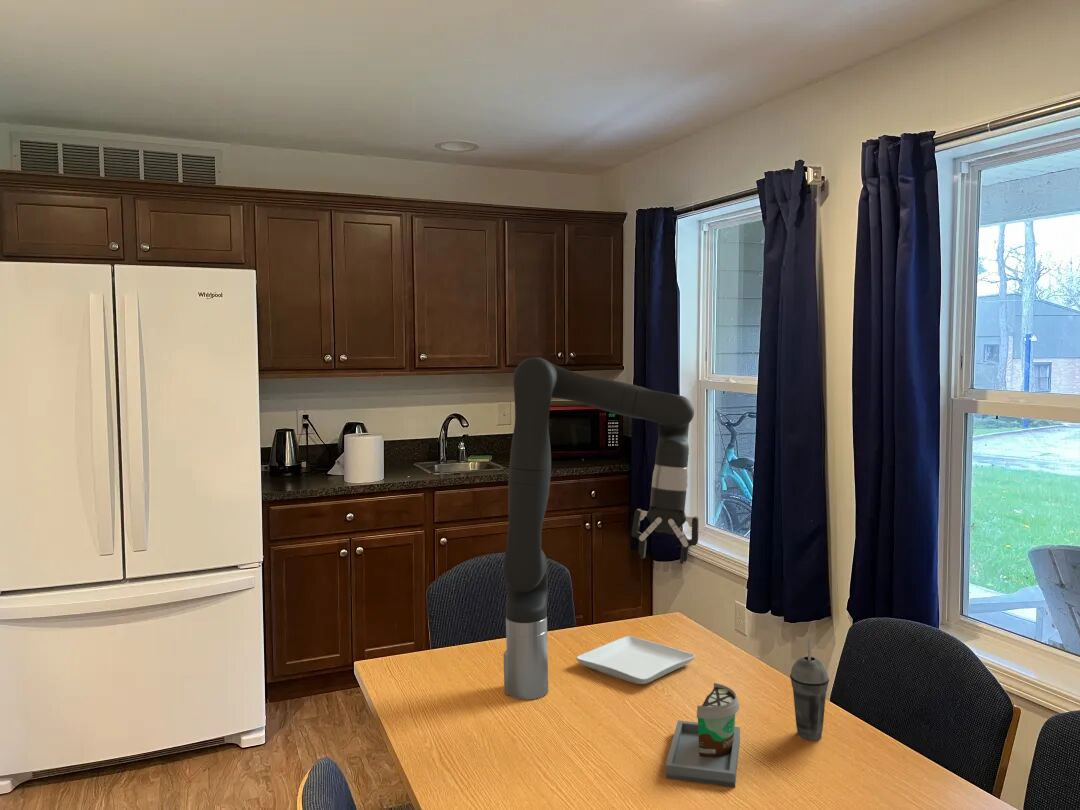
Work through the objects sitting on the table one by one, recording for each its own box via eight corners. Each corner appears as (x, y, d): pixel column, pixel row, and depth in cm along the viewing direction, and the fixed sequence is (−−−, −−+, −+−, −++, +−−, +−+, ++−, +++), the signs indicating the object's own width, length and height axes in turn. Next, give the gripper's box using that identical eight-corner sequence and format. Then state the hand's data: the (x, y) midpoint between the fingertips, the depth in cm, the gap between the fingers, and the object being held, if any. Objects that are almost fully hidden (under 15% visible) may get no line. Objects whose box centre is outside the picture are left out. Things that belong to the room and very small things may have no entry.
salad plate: (628, 646, 207) (628, 633, 207) (697, 667, 192) (697, 653, 192) (573, 670, 192) (573, 656, 192) (644, 694, 177) (644, 679, 177)
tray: (665, 778, 141) (665, 764, 141) (678, 732, 158) (677, 720, 158) (734, 787, 138) (734, 773, 138) (740, 739, 155) (740, 727, 155)
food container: (730, 767, 143) (730, 713, 142) (697, 759, 146) (696, 706, 145) (746, 737, 154) (746, 687, 153) (715, 731, 157) (714, 681, 156)
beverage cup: (828, 729, 158) (828, 631, 157) (829, 746, 151) (829, 643, 150) (790, 724, 160) (790, 627, 159) (789, 741, 154) (789, 640, 152)
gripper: (633, 484, 171) (627, 558, 171) (700, 492, 167) (693, 568, 167) (639, 481, 178) (632, 553, 179) (703, 488, 174) (696, 562, 175)
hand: (662, 560), depth 173 cm, fingers open, 8 cm apart
